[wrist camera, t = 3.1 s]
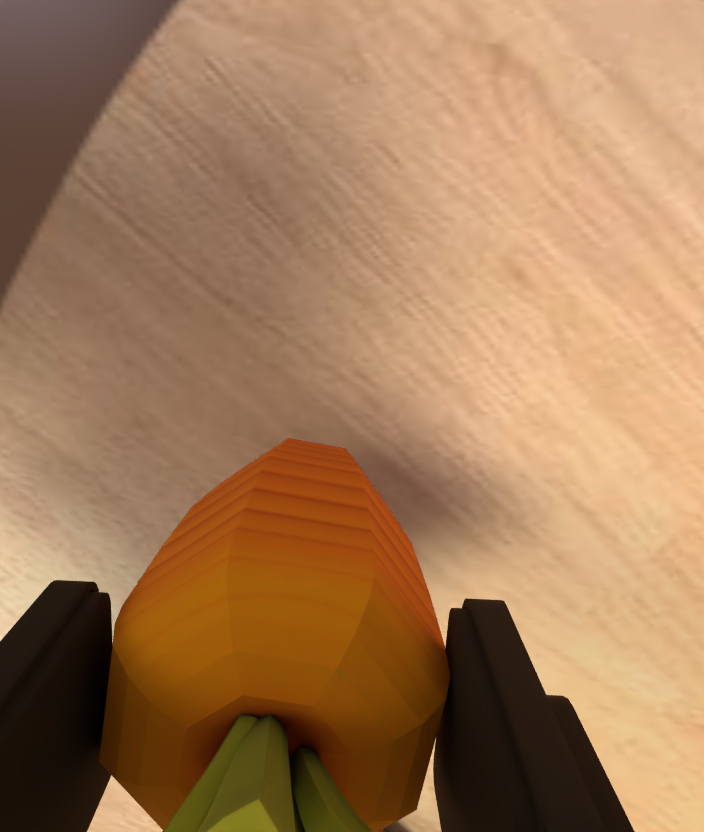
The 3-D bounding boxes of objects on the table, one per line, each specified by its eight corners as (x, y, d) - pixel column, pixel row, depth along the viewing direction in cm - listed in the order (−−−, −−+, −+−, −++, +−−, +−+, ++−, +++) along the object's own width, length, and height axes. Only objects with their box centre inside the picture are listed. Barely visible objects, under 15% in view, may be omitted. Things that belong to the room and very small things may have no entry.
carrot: (283, 345, 18) (33, 765, 4) (432, 440, 19) (721, 1108, 4) (192, 487, 19) (-286, 1259, 5) (336, 573, 20) (311, 1470, 5)
